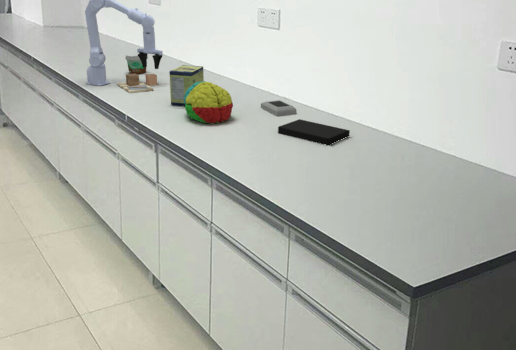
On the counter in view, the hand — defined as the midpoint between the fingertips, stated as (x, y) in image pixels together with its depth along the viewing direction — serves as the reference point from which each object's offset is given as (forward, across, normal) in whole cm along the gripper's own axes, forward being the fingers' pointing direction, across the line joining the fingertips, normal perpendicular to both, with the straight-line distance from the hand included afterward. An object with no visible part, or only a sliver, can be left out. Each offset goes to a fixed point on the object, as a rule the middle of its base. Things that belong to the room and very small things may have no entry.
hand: (150, 68), depth 305 cm
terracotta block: (+8, 0, 0) cm, 8 cm away
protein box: (+9, +38, -21) cm, 44 cm away
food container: (+8, -23, +17) cm, 30 cm away
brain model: (+9, +59, -38) cm, 71 cm away
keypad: (+9, +80, -13) cm, 81 cm away
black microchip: (+9, +108, -37) cm, 114 cm away
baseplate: (+8, -2, -11) cm, 14 cm away
